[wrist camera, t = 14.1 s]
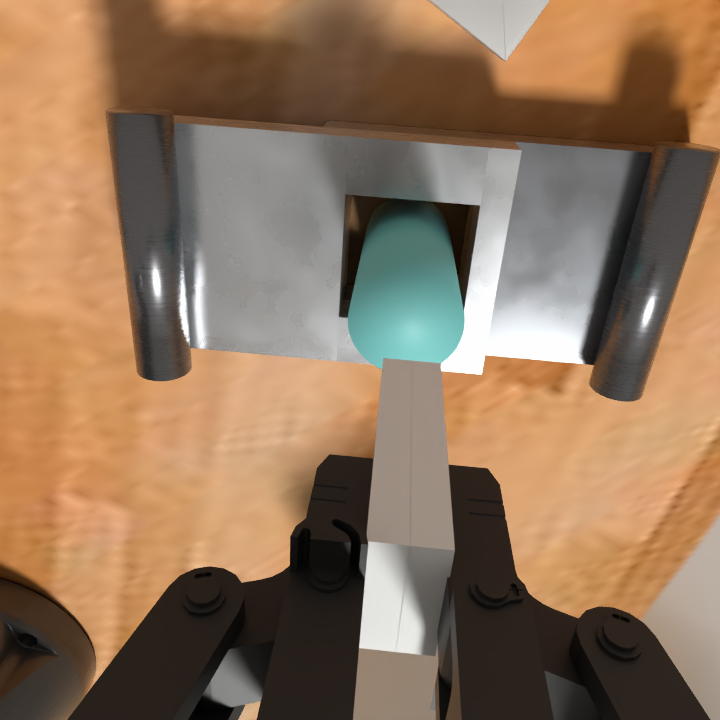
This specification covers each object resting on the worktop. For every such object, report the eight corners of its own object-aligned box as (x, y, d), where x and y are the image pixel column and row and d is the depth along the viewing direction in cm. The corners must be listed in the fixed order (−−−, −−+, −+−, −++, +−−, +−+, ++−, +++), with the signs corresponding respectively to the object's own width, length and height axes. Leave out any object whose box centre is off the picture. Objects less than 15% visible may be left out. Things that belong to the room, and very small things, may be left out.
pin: (443, 278, 31) (456, 379, 22) (363, 272, 31) (344, 368, 23) (454, 198, 29) (472, 273, 21) (369, 191, 29) (351, 262, 21)
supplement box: (344, 597, 42) (320, 801, 31) (440, 558, 40) (451, 763, 29) (402, 661, 45) (398, 870, 34) (495, 628, 43) (524, 840, 32)
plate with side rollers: (627, 358, 33) (672, 429, 27) (170, 317, 33) (121, 377, 28) (694, 136, 27) (767, 165, 22) (151, 94, 28) (85, 111, 22)
